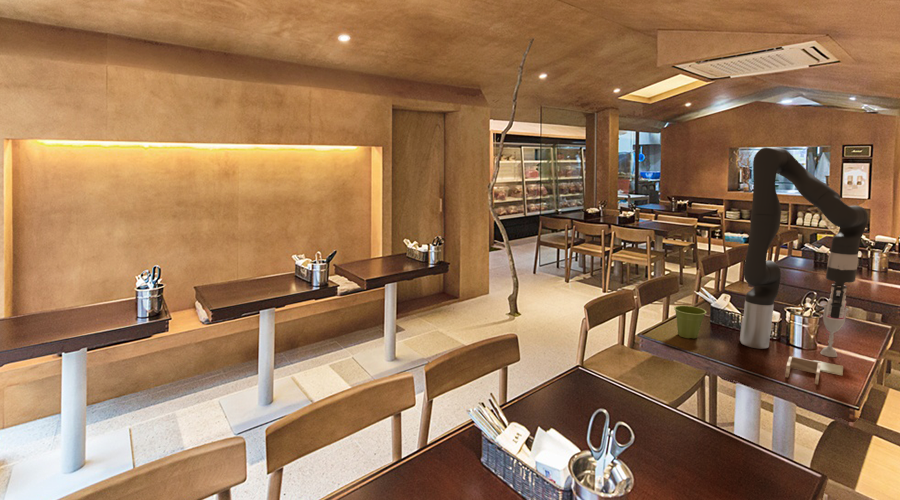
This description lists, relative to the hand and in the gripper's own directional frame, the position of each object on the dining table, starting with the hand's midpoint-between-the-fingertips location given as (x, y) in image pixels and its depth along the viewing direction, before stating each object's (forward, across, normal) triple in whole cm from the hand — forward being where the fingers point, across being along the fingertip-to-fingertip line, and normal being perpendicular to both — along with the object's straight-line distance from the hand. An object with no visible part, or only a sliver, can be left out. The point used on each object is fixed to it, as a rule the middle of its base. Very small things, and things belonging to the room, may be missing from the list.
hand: (834, 315), depth 157 cm
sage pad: (+19, 0, 0) cm, 19 cm away
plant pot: (+19, -4, -45) cm, 49 cm away
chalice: (+19, -16, 0) cm, 25 cm away
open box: (+19, +12, -6) cm, 23 cm away
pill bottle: (+1, 0, 0) cm, 1 cm away
